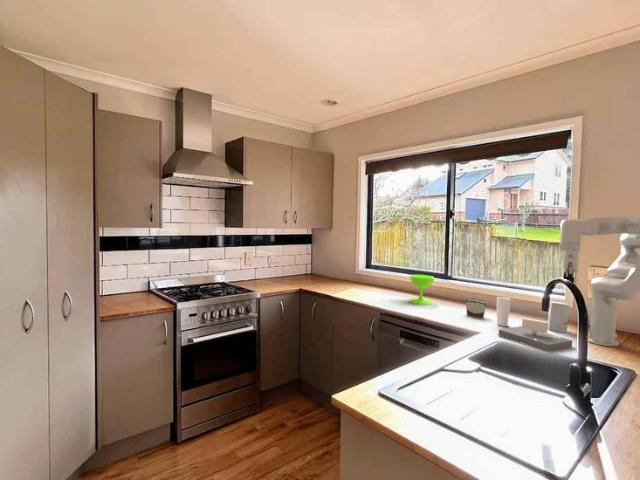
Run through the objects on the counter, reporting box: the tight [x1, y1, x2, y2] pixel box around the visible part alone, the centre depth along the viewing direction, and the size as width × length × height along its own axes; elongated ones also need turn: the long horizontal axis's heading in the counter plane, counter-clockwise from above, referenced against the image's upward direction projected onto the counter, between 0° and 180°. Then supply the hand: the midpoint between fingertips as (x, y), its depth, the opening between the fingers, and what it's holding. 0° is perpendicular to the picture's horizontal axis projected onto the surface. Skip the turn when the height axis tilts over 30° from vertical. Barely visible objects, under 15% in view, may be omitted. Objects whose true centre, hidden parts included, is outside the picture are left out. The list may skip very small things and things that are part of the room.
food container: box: [464, 297, 488, 319], centre depth 215 cm, size 12×6×10 cm, turn 47°
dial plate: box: [497, 325, 573, 352], centre depth 170 cm, size 18×24×3 cm
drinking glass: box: [496, 296, 512, 327], centre depth 197 cm, size 7×7×15 cm
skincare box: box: [547, 300, 570, 333], centre depth 191 cm, size 8×6×15 cm
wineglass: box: [408, 274, 435, 306], centre depth 250 cm, size 16×16×18 cm
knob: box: [521, 317, 561, 339], centre depth 168 cm, size 15×3×6 cm, turn 51°
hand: (568, 284), depth 165 cm, fingers open, 9 cm apart
